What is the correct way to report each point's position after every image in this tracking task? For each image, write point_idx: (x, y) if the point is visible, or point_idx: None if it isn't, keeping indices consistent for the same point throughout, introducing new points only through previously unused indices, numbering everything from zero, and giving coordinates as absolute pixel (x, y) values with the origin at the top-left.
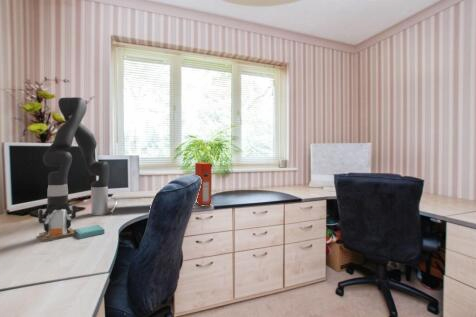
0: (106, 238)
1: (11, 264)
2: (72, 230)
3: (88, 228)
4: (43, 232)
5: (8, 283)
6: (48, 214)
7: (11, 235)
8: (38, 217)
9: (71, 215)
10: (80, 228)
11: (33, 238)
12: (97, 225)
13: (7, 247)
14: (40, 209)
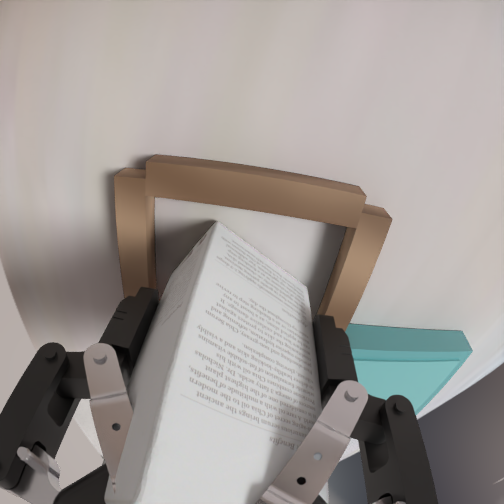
0: (353, 442)
1: (79, 413)
2: (340, 322)
3: (388, 391)
4: (144, 187)
5: (101, 452)
6: (103, 462)
7: (9, 15)
8: (20, 391)
9: (387, 416)
10: (369, 368)
11: (89, 214)
12: (458, 363)
13: (11, 274)
14: (9, 492)
